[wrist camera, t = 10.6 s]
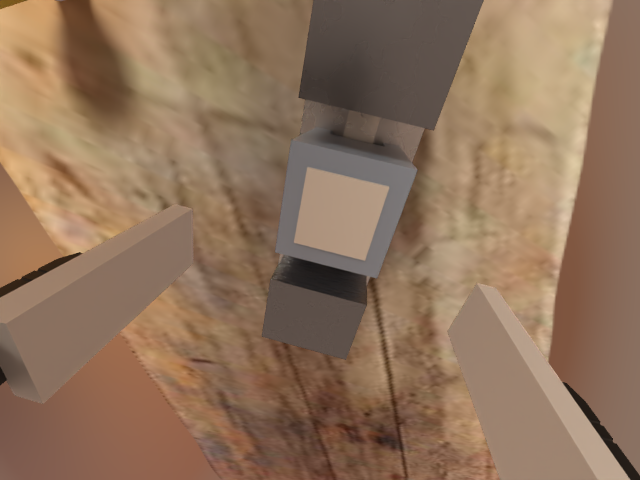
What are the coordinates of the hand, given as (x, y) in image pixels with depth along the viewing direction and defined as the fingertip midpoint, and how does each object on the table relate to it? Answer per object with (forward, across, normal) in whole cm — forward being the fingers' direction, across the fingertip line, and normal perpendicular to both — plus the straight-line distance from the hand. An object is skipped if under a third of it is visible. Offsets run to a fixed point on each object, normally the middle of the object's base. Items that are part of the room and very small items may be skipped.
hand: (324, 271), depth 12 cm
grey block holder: (+16, 0, 0) cm, 16 cm away
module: (+15, 0, 0) cm, 15 cm away
